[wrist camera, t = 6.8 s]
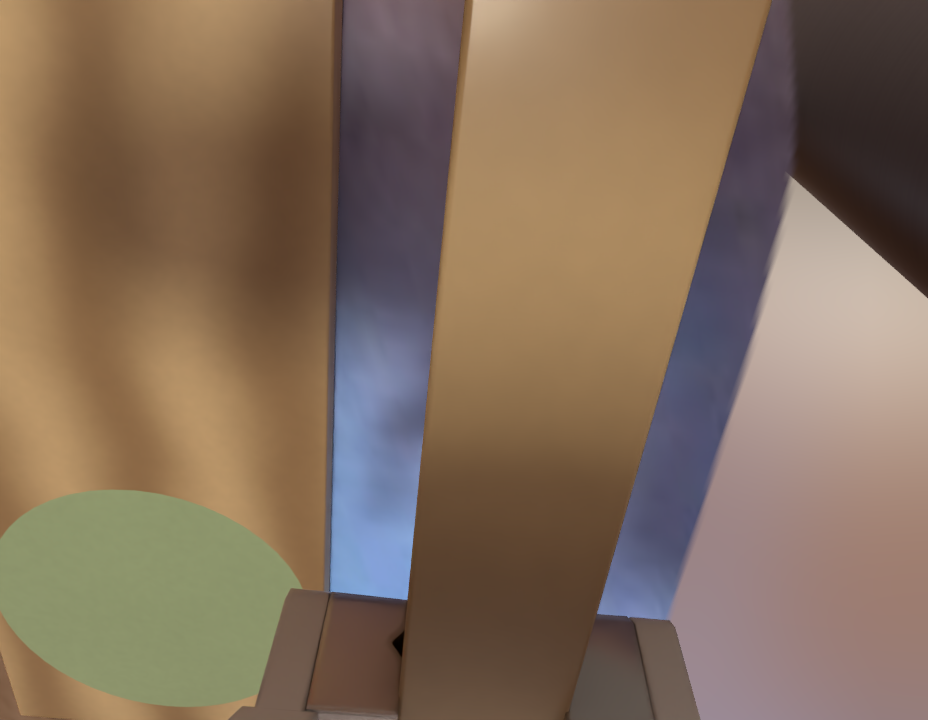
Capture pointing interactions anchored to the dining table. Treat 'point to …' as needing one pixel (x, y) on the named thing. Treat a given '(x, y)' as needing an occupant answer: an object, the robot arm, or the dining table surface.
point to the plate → (144, 596)
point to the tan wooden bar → (556, 325)
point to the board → (168, 276)
